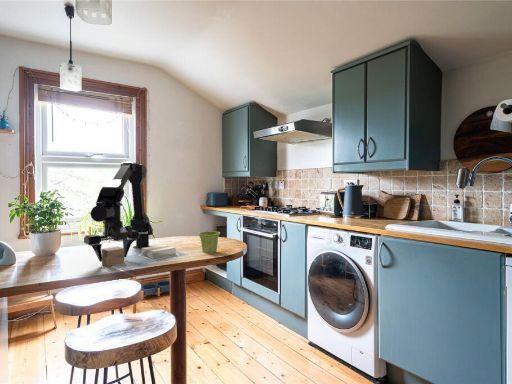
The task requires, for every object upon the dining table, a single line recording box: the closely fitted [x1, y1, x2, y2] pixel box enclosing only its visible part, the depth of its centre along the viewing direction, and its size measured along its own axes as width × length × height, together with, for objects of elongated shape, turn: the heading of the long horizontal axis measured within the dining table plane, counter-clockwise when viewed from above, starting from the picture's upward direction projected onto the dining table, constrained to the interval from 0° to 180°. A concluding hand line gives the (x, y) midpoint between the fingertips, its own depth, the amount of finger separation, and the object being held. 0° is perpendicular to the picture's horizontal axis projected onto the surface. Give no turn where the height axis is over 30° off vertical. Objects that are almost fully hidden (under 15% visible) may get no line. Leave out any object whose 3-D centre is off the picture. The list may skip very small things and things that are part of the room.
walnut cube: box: [101, 246, 125, 268], centre depth 118 cm, size 6×6×6 cm
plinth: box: [141, 244, 177, 259], centre depth 130 cm, size 10×10×3 cm
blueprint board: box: [124, 250, 189, 265], centre depth 129 cm, size 17×22×1 cm
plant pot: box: [198, 230, 221, 254], centre depth 137 cm, size 9×9×9 cm
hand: (113, 259), depth 118 cm, fingers open, 9 cm apart
